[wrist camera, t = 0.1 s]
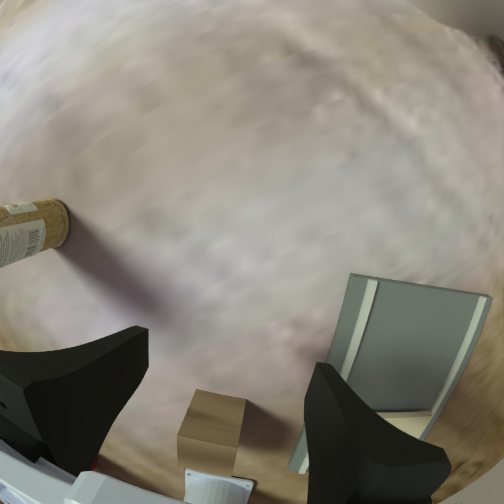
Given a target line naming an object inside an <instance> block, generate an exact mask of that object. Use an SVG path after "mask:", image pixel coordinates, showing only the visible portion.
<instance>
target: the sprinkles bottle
mask: <svg viewBox="0 0 504 504" xmlns="http://www.w3.org/2000/svg"><path fill="white" fill-rule="evenodd" d="M68 230H69V219H68V215H67V211H66V209H65V207H64V206H63V204H62V203H61V202H59V201H58V200H56V199H54V198H47V199H44V200H42V201H35V202H23V203H18V204H12V205H6V206H0V268H1V267H4V266H6V265H9V264H12V263H14V262H17V261H19V260H22V259H25V258H27V257H30V256H33V255H35V254H37V253H38V252H41V251H44V250H47V249H49V248H57V247H59V246H61V245H62V244H63V243H64V241H65V240H66V237H67V235H68Z"/></svg>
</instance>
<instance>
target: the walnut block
mask: <svg viewBox="0 0 504 504" xmlns="http://www.w3.org/2000/svg"><path fill="white" fill-rule="evenodd" d="M245 404H246V399H242V398H237V397H231V396H226V395H221V394H216V393H211V392H207V391H202V390H198V389H196V391H195V393H194V396H193V398H192V400H191V403H190V405H189V408H188V410H187V413H186V415H185V417H184V420H183V422H182V425H181V427H180V429H179V432H178V434H177V450H178V466H180V467H184V468H188V469H192V470H197V471H201V472H205V473H210V474H215V475H220V476H225V477H231V476H232V472H233V467H234V462H235V458H236V453H237V448H238V443H239V437H240V432H241V426H242V421H243V415H244V409H245Z"/></svg>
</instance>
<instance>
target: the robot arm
mask: <svg viewBox="0 0 504 504" xmlns="http://www.w3.org/2000/svg"><path fill="white" fill-rule="evenodd" d="M148 367H149V356H148V329H147V328H143V327H140V326H133V327H130V328H127V329H124V330H122V331H119V332H117V333H114V334H112V335H109V336H106V337H104V338H101V339H98V340H95V341H92V342H89V343H86V344H83V345H79V346H75V347H71V348H66V349H61V350H54V351H45V352H12V351H2V350H0V500H1V501H2V502H4V503H5V504H247V502H248V499H249V496H250V493H251V490H252V487H253V484H254V482H253V481H252V480H246V479H240V478H234V477H225V476H220V475H215V474H210V473H205V472H201V471H197V470H192V469H188V468H187V469H186V471H185V486H186V494H185V497H184V500H183V501H181V500H177V499H173V498H170V497H166V496H163V495H160V494H157V493H154V492H151V491H148V490H145V489H142V488H139V487H136V486H133V485H131V484H128V483H126V482H123V481H121V480H118V479H116V478H113V477H111V476H108V475H105V474H102V473H99V472H96V471H91V469H92V467H93V464H94V462H95V460H96V457H97V455H98V452H99V450H100V448H101V446H102V444H103V442H104V440H105V437H106V436H107V434H108V432H109V430H110V428H111V426H112V424H113V422H114V421H115V419H116V417H117V416H118V414H119V413H120V412H121V410H122V409H123V407H124V406H125V405H126V403H127V402H128V400H129V399H130V398H131V396H132V395H133V393H134V392H135V391H136V389H137V388H138V386H139V385H140V383H141V381H142V379H143V377H144V375H145V373H146V371H147V369H148ZM304 422H305V431H306V440H307V449H308V458H309V482H308V499H307V504H432V500H431V497H430V496H431V495H432V494H433V493H434V492H435V491H436V490H437V489H438V488H439V487H440V486H441V485H442V484H443V483H444V481H445V480H446V479H447V478H448V476H449V474H450V472H451V463H450V461H449V459H448V457H447V455H446V453H445V451H444V449H443V448H441V447H438V446H435V445H432V444H429V443H427V442H424V441H421V440H419V439H417V438H415V437H413V436H411V435H409V434H407V433H405V432H403V431H402V430H400V429H398V428H397V427H395V426H394V425H392V424H391V423H389V422H388V421H386V420H385V419H383V418H382V417H381V416H380V415H378V414H377V413H376V412H375V411H373V410H372V409H371V408H370V407H369V406H368V405H367V404H366V403H365V402H364V401H363V400H362V399H361V398H360V397H359V396H358V395H357V394H356V393H355V392H354V391H353V390H352V389H351V387H350V386H349V385H348V384H347V383H346V382H345V380H344V379H343V378H342V377H341V376H340V374H339V373H338V372H337V371H336V369H335V368H334V367H333V366H332V365H331V364H328V363H320V362H317V363H316V366H315V369H314V372H313V375H312V378H311V381H310V384H309V387H308V390H307V393H306V396H305V401H304ZM457 504H462V503H457Z"/></svg>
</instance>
